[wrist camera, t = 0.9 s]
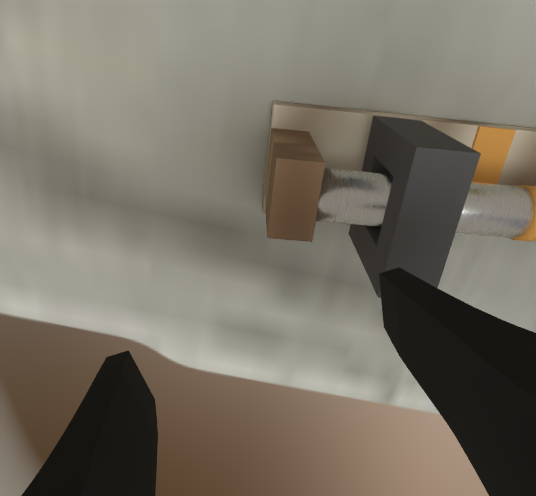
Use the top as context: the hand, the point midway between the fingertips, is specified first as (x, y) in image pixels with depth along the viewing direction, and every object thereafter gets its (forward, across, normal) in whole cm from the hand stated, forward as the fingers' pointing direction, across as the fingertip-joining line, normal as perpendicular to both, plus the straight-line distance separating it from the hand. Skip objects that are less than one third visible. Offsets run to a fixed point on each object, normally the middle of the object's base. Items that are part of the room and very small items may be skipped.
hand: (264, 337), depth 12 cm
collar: (+11, -8, +2) cm, 14 cm away
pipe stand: (+13, -12, +3) cm, 18 cm away
